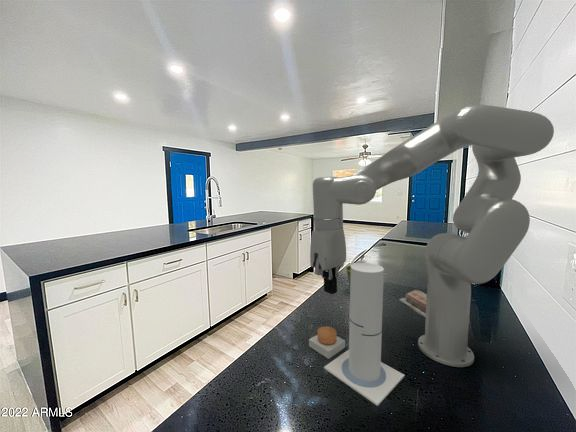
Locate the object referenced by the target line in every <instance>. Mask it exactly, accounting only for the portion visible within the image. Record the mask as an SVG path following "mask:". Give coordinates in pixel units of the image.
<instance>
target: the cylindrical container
mask: <svg viewBox="0 0 576 432" xmlns="http://www.w3.org/2000/svg"><path fill="white" fill-rule="evenodd" d="M350 265H351V275H350V288H349V294H350V295H349V327H348V328H349V334H348V335H349V337H348V350H349V371H350V373H351V374H352V375H353V376H354V377H355V378H357V379H359V380H361V381H365V382H373V381H376V380H378V379H379V377H380V370H381V362H382V338H383V337H382V336H383V333H382V332H383V329H382V328H383V307H384V305H383V304H384V303H383V302H384V295H383V294H384V277H385V273H384V272H385V271H384V269H385V268H384V267H383V266H381V265H379V264H376V263H370V262H356V263H353V264H350Z"/></svg>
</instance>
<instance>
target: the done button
mask: <svg viewBox="0 0 576 432" xmlns="http://www.w3.org/2000/svg"><path fill="white" fill-rule="evenodd" d="M316 331H317V333H316V335H317V338H318V340H319V341H320V342H321V343H324V344H333V343H335V342H336V340H337V335H338V333H337V330H336V329H335V328H334V327H332V326H328V325H327V326H326V325H325V326H323V325H322V326H320V327H318V328H317V330H316Z"/></svg>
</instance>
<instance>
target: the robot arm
mask: <svg viewBox="0 0 576 432" xmlns="http://www.w3.org/2000/svg"><path fill="white" fill-rule="evenodd" d="M554 132H555V130H554V125H553V123H552V121H551V120H550V119H549V118H548V117H546V116H545V115H543V114H541V113H538V112H533V111H531V110H529V111H528V110H523V109H522V110H521V109H516V108H509V107H502V106H497V105H487V104H469V105H466V106H464V107H463V106H462V107H461V108H459V109H457V110H455V111H454V112H452V113H450V114H448V115H446V116H445V117H442V118H441V119H439V120H437V121H435V122H433V124H431V125H429V126H428V127H426V128H424V129H422V130H421V131H420V132H418V133H416V134H415V135H413V136H411V137H409V138H408V139H406V140H405V141H402V142H401V143H399V144H398V145H396V146H395V147H393V148H391V149H390V150H389V151H387V152H386V153H384V154H383V155H382V156H380V157H379V158H377V159H376V160H374V161H372V162H371V163H369V164H367V165H366V166H364V167H363V168H361V169H359V170H358V171H356V172H354V173H353V174H351V175H347V176H346V175H345V176H340V177H338V176H323V177H317V178H314V180H313V181H312V201H313V203H312V204H313V205H312V206H313V229H314V230H312V231H311V237H310V245H309V246H310V249H309V265H310V267H311V268H314V273H313V274H314V275H317V276H321V277H322V278H323V291H324V292H325V293H327V294H331V295H334V294H336V293H337V292H338V280H337V279H338V277H339V272H340V269H342V268H343V267H344V265H345V264H346V261H347V243H346V237H345V231H344V210H343V209H344V207H343V204H347V205H348V204H349V205H357V206H358V205H359V206H360V205H365V204H367V203H369V202H371V201H372V200H373V199H374V198H375V196H376V194H377V191H378V190H380V189H382V188H383V187H385V186H387V185H389V184H392V183H395V182H398V181H402V180H404V179H408V178H410V177H412V176H415V175H417V174H420V172H422V171H424V170H425V169H428V167H431V166H432V165H433V164H435V163H437V162H440V160H442V159H445V158H447V156H449V155H451V154H453V153H454V152H457V151H458V150H461V149H463V148H467V147H472V148H471V149H472V154H473V156H474V158H475V160H476V163H477V166H478V167H477V168H478V172H477V176H476V178H475V179H474V182H473V183H472V184H471V186H470V188H469V190H468V191H467V192H466V194H465V195H464V197H463V199H462V200H461V201H460V203H459V204H458V206H457V207H456V209H455V211H454V212H453V213H454V214H453V215H452V222H453V224H454V226H455V227H456V229H458V230H459V231H461V232H464V233H466V234H467V236H463V235H460V234H459V235H458V234H455V233H450V232H449V233H448V232H444V233H443V232H442V233H437V234H436V235H433V237H431V238H430V239H429V240H428V242H427V244H426V247H425V251H424V252H425V253H424V254H425V262H426V263H425V264H426V273H427V274H426V275H427V282H426V283H427V286H426V287H427V288H426V294H427V300H426V318H425V320H424V321H425V323H424V326H425V328H424V334H423V335H421V336H419V338H418V339H417V346H418V349H419V350H420V351H421V352H422V353H423V354H424V355H425V356H427V357H428V358H429V359H431V360H433V361H435V362H437V363H440V364H442V365H444V366H450V367H455V368H465V367H469V366H471V365H473V363H475V355H474V352H473V351H472V349H471V348H470V347H469V346H468V341H469V328H470V327H469V325H470V313H471V312H470V311H471V299H472V285H482V284H485V283H487V282H489V281H491V280H492V279H494V278H495V276H497V275H498V274H499V272H500V271H501V270H502V269H503V267H504V266H505V265H506V263H507V262H508V260H510V258H511V256H512V255H513V253H514V252H515V251H516V250H517V248H518V247H519V245H520V244H521V243H522V241H523V239H524V238H525V236H526V235H527V232H528V230H529V228H530V222H531V218H530V213H529V211H528V209H527V208H526V206H525V205H524V204H523V203H521V202H520V201H518V200H515V199H513V198H514V196H515V195H516V193H517V192H518V190H519V188H520V185H521V181H522V177H521V176H522V175H521V171H520V169H519V166H518V163H517V160H516V158H519V157H526V156H531V155H534V154H536V153H538V152H541V151H542V150H543V149H545V148H546V147H547V146H548V145H550V143H551V141H552V139H553V137H554V134H555V133H554Z"/></svg>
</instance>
